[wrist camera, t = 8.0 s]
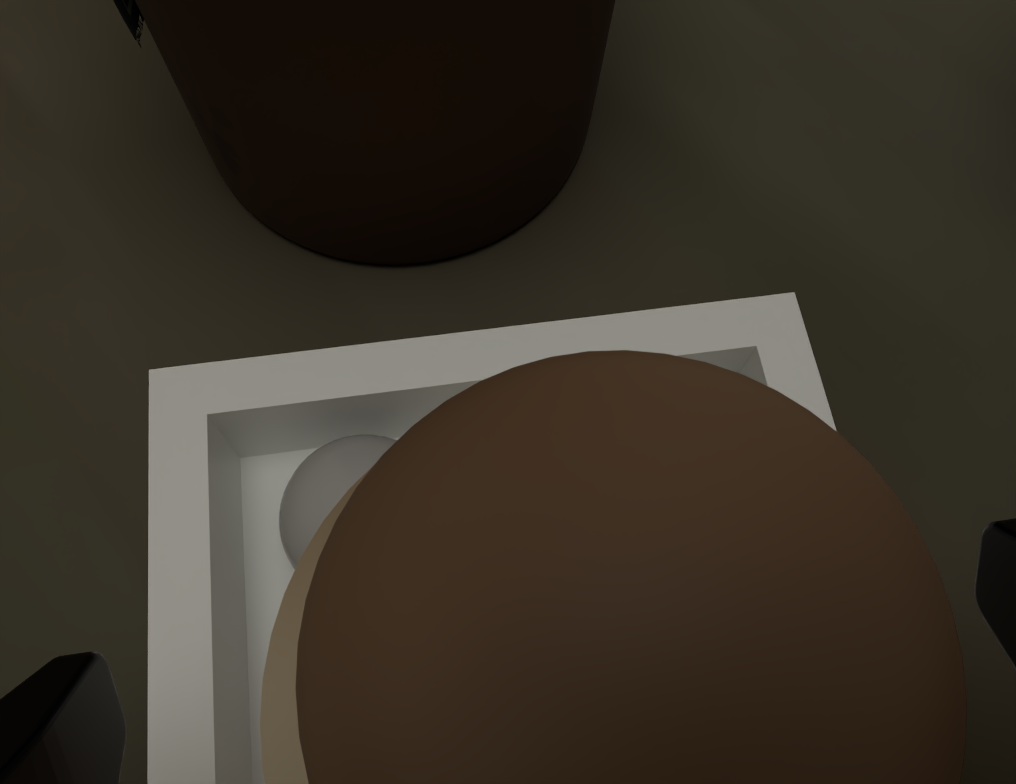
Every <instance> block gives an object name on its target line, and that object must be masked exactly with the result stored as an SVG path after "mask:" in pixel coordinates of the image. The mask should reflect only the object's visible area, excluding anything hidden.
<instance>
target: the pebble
mask: <svg viewBox="0 0 1016 784" xmlns="http://www.w3.org/2000/svg"><path fill="white" fill-rule="evenodd" d="M396 441H397V440H395V439H392V438H389V437H385V436H379V435H370V434H361V435H352V436H346V437H342V438H339V439H336V440H334V441H331V442H329V443H327V444H325V445H323V446H322V447H320V448H318V449H317V450H315V451H314V452H313V453H312V454H310V455H309V456H308V457H307V458H306V459H305V460H304V461H303V462H302V463H301V464H300V465H299V467H298V468H297V469H296V470H295V472H294V473H293V475H292V477H291V478H290V480H289V482H288V484H287V486H286V488H285V490H284V493H283V496H282V500H281V504H280V511H279V531H280V538H281V542H282V545H283V549H284V551H285V553H286V556H287V558H288V560H289V562H290V563H291V565H292V567H293V568H294V570H295V569H296V567H297V565H298V563H299V560H300V558H301V556H302V554H303V553H304V551H305V549H306V548H307V546H308V545H309V543H310V541H311V540H312V538H313V537H314V535H315V533H316V532H317V530H318V529H319V527H320V525H321V524H322V522H323V521H324V519H325V518H326V517H327V516H328V514H329V513H330V512H331V511H332V509H333V508H334V507H335V506H336V504H337V503H338V502H339V501H340V499H341V498H342V497H343V496H344V495H345V493H346V492H347V491H348V490H349V488H350V487H352V486H353V485H354V484H355V483H356V482H357V481H358V480H359V479H360V478H361V477H362V476H363V475H364V474H365V473H366V472H367V471H368V470H369V469H370V468H371V467H372V466H373V465H374V464H375V463H376V462H377V461H378V460H379V458H380V457H381V456H382V455H383V454H384V453H385V452H386V451H387V450H388V449H389V448H390V447H391V446H392V445H393V444H394V443H395V442H396Z"/></svg>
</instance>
